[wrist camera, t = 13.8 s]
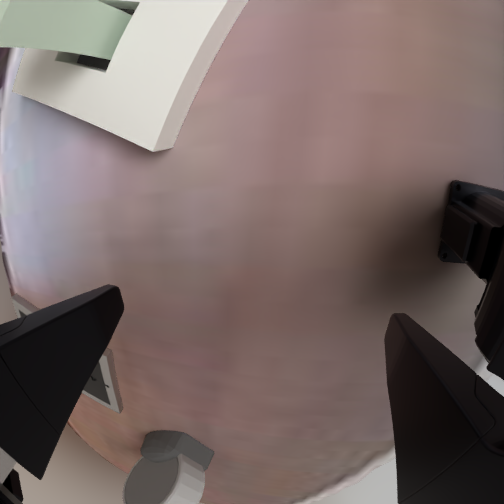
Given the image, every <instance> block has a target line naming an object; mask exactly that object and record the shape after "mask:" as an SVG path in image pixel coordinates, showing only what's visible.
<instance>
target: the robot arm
mask: <svg viewBox="0 0 504 504" xmlns="http://www.w3.org/2000/svg"><path fill="white" fill-rule="evenodd" d="M456 185H459V188H458V189H457V190H456ZM444 253H446V254H445V256H444V257H442V255H443V254H444ZM438 257H439V259H440V260H441V261H443V262H454V263H466V264H467V265H468V266H469V267H470V268H471V270H472V271H473V272H474V273H475V274H476V275H477V276H478V277H479V278H480V279H482V280H483V281H484V282H485V283H486V284H487V285H486V288H485V290H484V293H483V296H482V298H481V301H480V303H479V305H477V307H476V310H475V317H476V319H475V323H474V325H475V331H476V335H477V336H476V338H475V342H476V345H477V347H478V348H479V350H480V352H481V353H482V354H483V356H484V357H485V359H486V360H487V362H488V363H489V364H488V365H487V370H488V371H490V372H492V373H493V374H495V375H497V376H499V377H500V378H501V379H503V380H504V191H501V190H498V189H494V188H490V187H486V186H481V185H477V184H473V183H468V182H464V181H459V180H454V181H453V182H452V184H451V189H450V196H449V203H448V206H447V207H446V212H445V218H444V223H443V228H442V233H441V243H440V248H439V252H438ZM123 312H124V303H123V300H122V296H121V292H120V289H119V287H117V286H115V285H105V286H102V287H100V288H97V289H94V290H92V291H89V292H86V293H83V294H81V295H78V296H75V297H73V298H70V299H67V300H65V301H62V302H59V303H57V304H54V305H51V306H49V307H46V308H44V309H41V310H38V311H36V312H33V313H31V314H28V315H25V316H23V317H20V318H17V319H15V320H12V321H9V322H7V323H4V324H1V325H0V504H23V503H22V501H23V495H22V490H21V485H20V480H19V474H18V472H17V471H15V470H14V469H13V467H14V465H15V464H16V462H18V463H19V464H20V465H21V466H22V467H24V468H25V469H26V470H27V471H29V472H30V473H31V474H33V475H34V476H35V477H37V478H38V479H39V480H41V479H42V477H43V475H44V473H45V470H46V468H47V465H48V463H49V461H50V458H51V456H52V454H53V451H54V449H55V447H56V445H57V442H58V440H59V438H60V435H61V434H62V431H63V429H64V427H65V425H66V423H67V421H68V419H69V417H70V415H71V413H72V411H73V409H74V407H75V405H76V403H77V401H78V399H79V397H80V395H81V393H82V391H83V389H84V388H85V386H86V384H87V382H88V380H89V378H90V376H91V375H92V373H93V371H94V369H95V367H96V365H97V364H98V362H99V360H100V358H101V357H102V355H103V353H104V351H105V350H106V348H107V346H108V344H109V342H110V340H111V338H112V335H113V333H114V331H115V329H116V327H117V325H118V322H119V320H120V318H121V316H122V314H123ZM384 342H385V356H386V373H387V386H388V393H389V400H390V407H391V414H392V422H393V431H394V441H395V453H396V468H397V491H398V504H504V397H503V396H502V395H501V394H499V393H498V392H497V391H496V390H495V389H493V388H492V387H491V386H490V385H489V384H488V383H487V382H485V381H484V380H483V379H482V378H481V377H480V376H479V375H476V373H475V372H474V371H473V370H472V369H471V368H470V367H468V366H467V365H466V364H465V363H464V362H463V361H462V360H460V359H459V358H458V357H457V356H456V355H455V354H453V353H452V352H451V351H450V350H449V349H448V348H446V347H445V346H444V345H443V344H442V343H440V342H439V341H438V340H437V339H436V338H434V337H433V336H432V335H431V334H430V333H428V332H427V331H426V330H425V329H424V328H422V327H421V326H420V325H419V324H417V323H416V322H415V321H414V320H412V319H411V318H410V317H409V316H408V315H406V314H404V313H394V314H392V316H391V318H390V321H389V324H388V327H387V330H386V333H385V339H384Z"/></svg>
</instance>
